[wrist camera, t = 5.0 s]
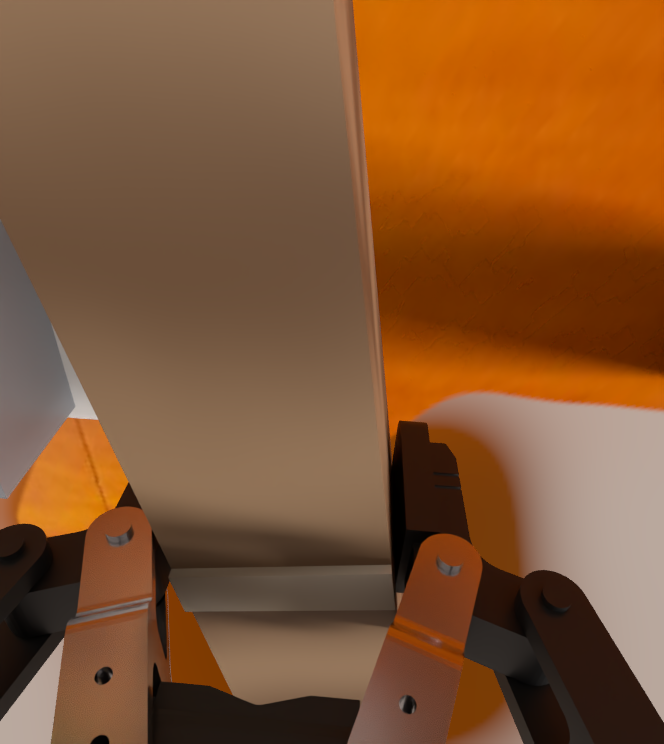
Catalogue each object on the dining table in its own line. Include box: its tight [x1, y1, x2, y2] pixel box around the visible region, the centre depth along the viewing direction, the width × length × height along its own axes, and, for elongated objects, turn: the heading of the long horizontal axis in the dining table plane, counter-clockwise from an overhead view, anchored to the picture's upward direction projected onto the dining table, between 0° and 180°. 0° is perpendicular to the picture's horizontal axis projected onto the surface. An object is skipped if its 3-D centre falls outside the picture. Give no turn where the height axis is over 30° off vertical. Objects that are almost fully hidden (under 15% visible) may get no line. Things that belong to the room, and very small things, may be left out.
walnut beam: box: [0, 0, 403, 706], centre depth 13 cm, size 26×4×5 cm, turn 7°
